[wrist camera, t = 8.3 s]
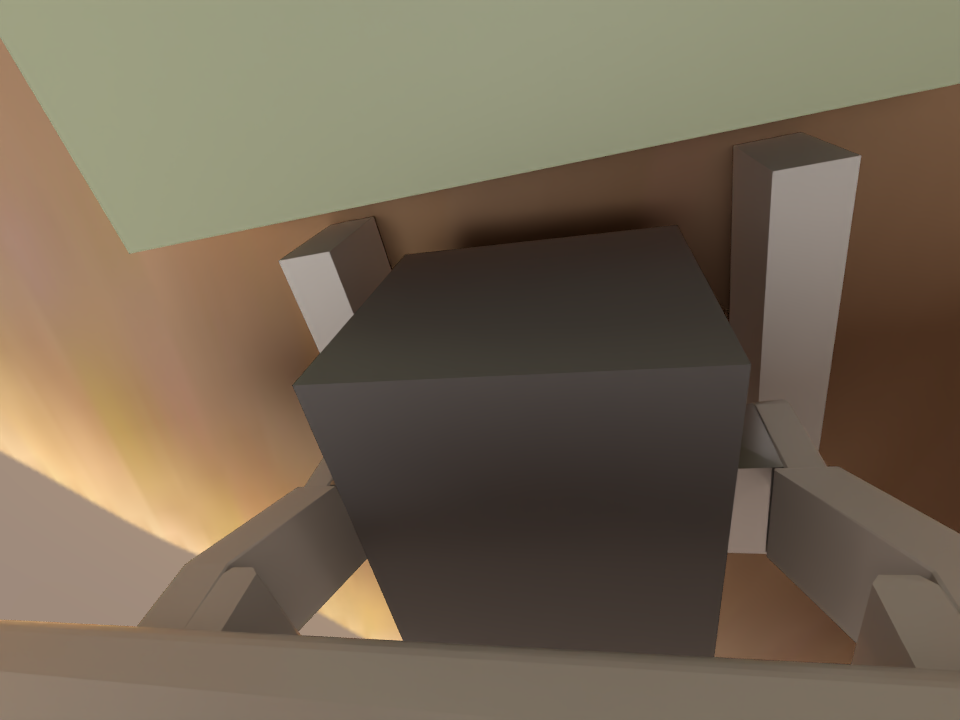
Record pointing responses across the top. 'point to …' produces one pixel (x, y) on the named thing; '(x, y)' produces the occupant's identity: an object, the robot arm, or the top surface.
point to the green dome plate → (478, 124)
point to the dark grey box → (540, 442)
